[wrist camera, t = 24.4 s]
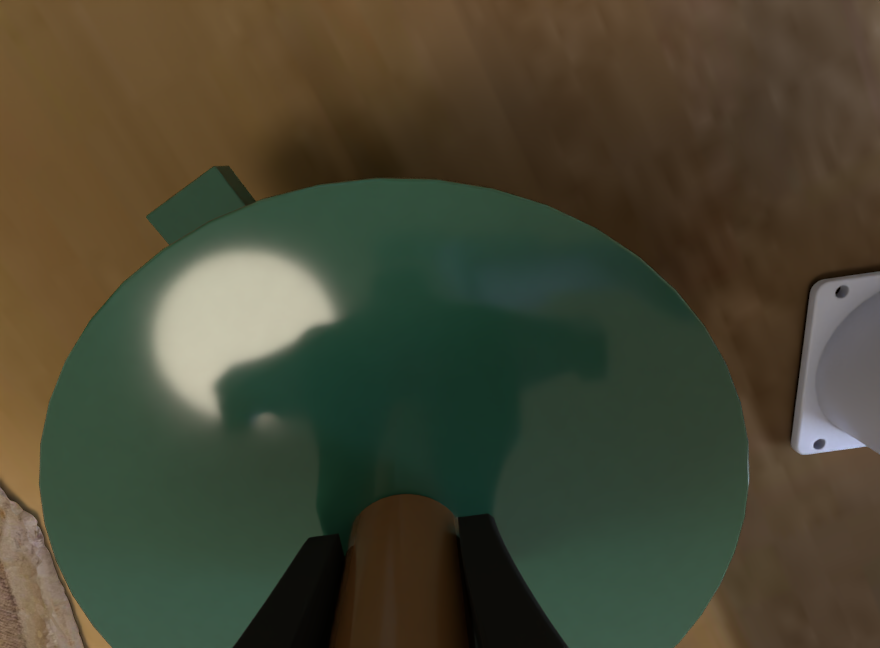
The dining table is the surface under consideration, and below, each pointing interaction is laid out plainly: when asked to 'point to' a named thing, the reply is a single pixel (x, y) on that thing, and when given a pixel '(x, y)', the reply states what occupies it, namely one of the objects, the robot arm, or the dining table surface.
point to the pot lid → (394, 424)
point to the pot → (200, 203)
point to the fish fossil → (30, 587)
